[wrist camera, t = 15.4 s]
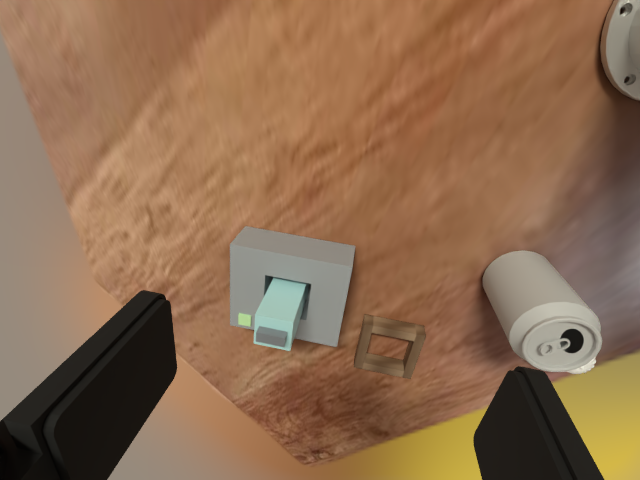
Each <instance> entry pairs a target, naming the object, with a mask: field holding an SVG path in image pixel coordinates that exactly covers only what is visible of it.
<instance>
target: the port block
mask: <svg viewBox="0 0 640 480" xmlns="http://www.w3.org/2000/svg"><path fill="white" fill-rule="evenodd" d="M354 253H355V246H352V245H347V244H341V243H336V242H330V241H325V240H319V239H314V238H308V237H303V236H297V235H292V234H286V233H281V232H275V231H270V230H264V229H259V228H253V227H248V226H245V227H244V228H243V229H242V231H241V232H240V233H239V234H238V235H237V237H236V238H235V239H234V240H233V241H232V242H231V244H230V325H232V326H237V327H242V328H247V329H251V330H254V327H255V314H256V312H257V310H258V308H259V306H260V304H261V302H262V300H263V298H264V296H265V294H266V292H267V290H268V288H269V286H270V284H271V282H272V280H273V278H274V277H278V278H283V279H288V280H293V281H298V282H304V283H309V288H308V296H307V299H306V302H305V305H304V309H303V312H302V315H301V318H300V321H299V324H298V328H297V331H296V334H295V337H294V338H295V339H300V340H305V341H310V342H314V343H319V344H324V345H329V346H334V347H337V343H338V338H339V333H340V328H341V323H342V318H343V313H344V308H345V303H346V298H347V293H348V288H349V283H350V278H351V273H352V268H353V260H354Z"/></svg>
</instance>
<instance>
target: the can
mask: <svg viewBox="0 0 640 480" xmlns="http://www.w3.org/2000/svg"><path fill="white" fill-rule="evenodd" d="M483 288H484V290H485V292H486V294H487V296H488V298H489V301H490V303H491V305H492V307H493V309H494V311H495V313H496V315H497V317H498V320H499V322H500V324H501V326H502V328H503V330H504V332H505V334H506V336H507V339H508V341H509V343H510V345H511V347H512V349H513V351H514V352H515V353H516V354H517V355H518V356H519V357H521V358H522V359H525V360H526V361H527V362H529V363H530V364H531V365H532V366H534V367H536V368H538V369H540V370H544V371H549V372H566V371H570V370H574V369H577V368H580V367H582V366H584V365H586V364H588V363H589V362H590V361H591V360H592V359H594V358H595V357H596V356H597V354H598V352H599V351H600V349H601V345H602V337H601V334H600V332H601V325H600V322H599V319H598V317H597V316H596V315H595V314H594V313H593V311H592V310H591V309H590V308H589V307H588V306H587V305H586V303H585V302H584V301H583V300H582V299H581V298H580V297H579V295H578V294H577V293H576V292H575V291H574V290H573V289H572V287H571V286H570V285H569V284H568V283H567V282H566V281H565V279H564V278H563V277H562V276H561V275H560V274H559V273H558V271H557V270H556V269H555V268H554V267H553V266H552V265H551V263H550V262H549V261H548V260H547V259H546V258H545V257H544V256H542V255H540V254H538V253H535V252H531V251H524V250H523V251H514V252H510V253H507V254H504V255H502V256H500V257H498V258H497V259H496V260H494V261H493V262H492V263H491V264H490V265H489V266H488V267H487V269H486V270H485V273H484V276H483Z"/></svg>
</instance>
